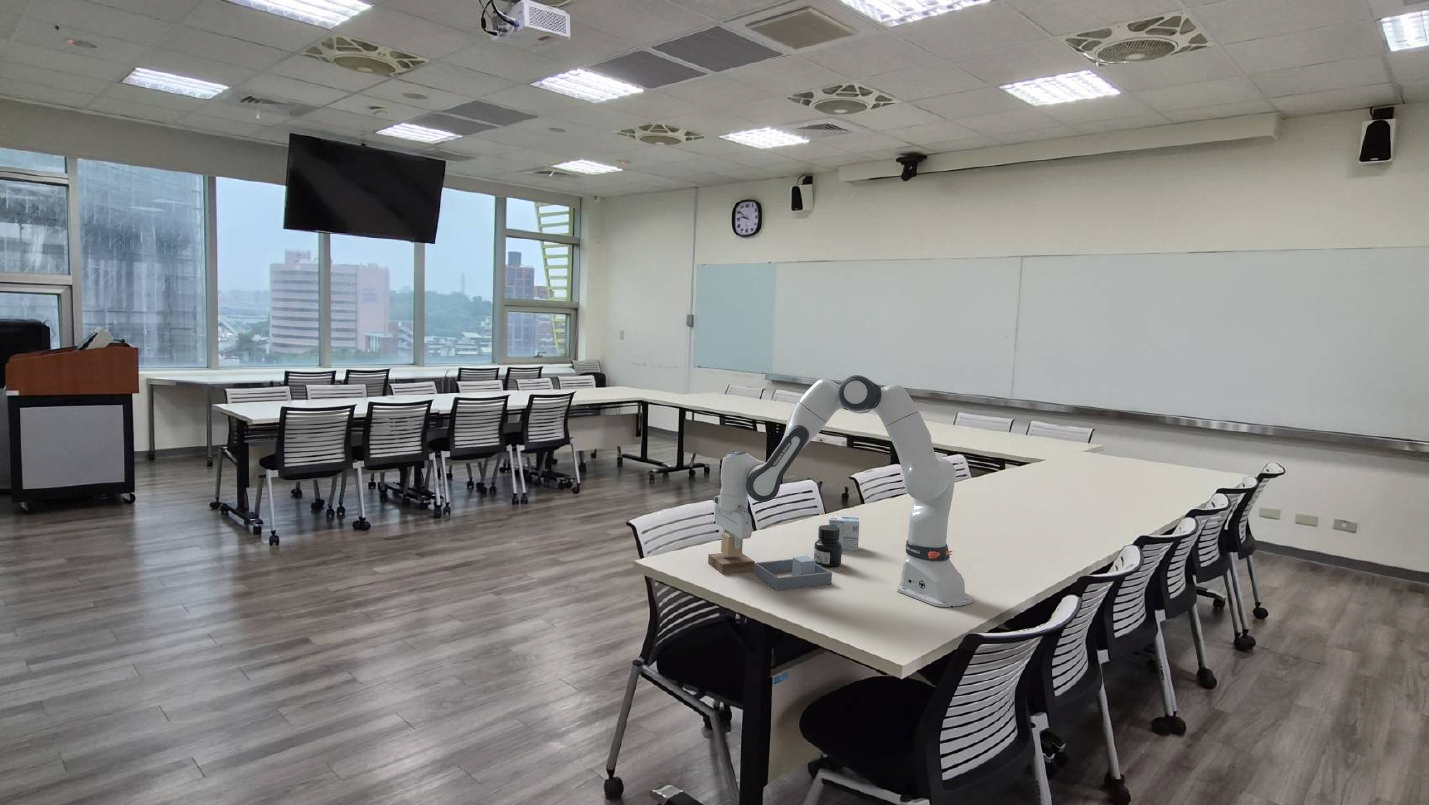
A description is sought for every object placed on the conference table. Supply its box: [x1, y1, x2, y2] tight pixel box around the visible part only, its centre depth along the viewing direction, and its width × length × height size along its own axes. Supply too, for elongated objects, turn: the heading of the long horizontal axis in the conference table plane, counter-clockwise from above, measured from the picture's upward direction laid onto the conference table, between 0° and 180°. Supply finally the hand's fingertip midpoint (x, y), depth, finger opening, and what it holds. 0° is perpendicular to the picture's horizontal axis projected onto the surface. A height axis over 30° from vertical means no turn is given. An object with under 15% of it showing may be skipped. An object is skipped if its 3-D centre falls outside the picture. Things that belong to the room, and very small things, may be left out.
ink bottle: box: [813, 524, 843, 568], centre depth 255 cm, size 10×9×12 cm
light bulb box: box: [827, 515, 860, 552], centre depth 273 cm, size 11×7×11 cm, turn 84°
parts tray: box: [752, 558, 833, 591], centre depth 238 cm, size 16×19×4 cm
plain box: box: [791, 555, 815, 576], centre depth 240 cm, size 5×5×6 cm
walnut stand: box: [707, 552, 756, 575], centre depth 247 cm, size 11×11×3 cm
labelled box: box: [720, 532, 744, 556], centre depth 247 cm, size 5×5×6 cm
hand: (732, 545), depth 247 cm, fingers closed on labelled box, 5 cm apart
